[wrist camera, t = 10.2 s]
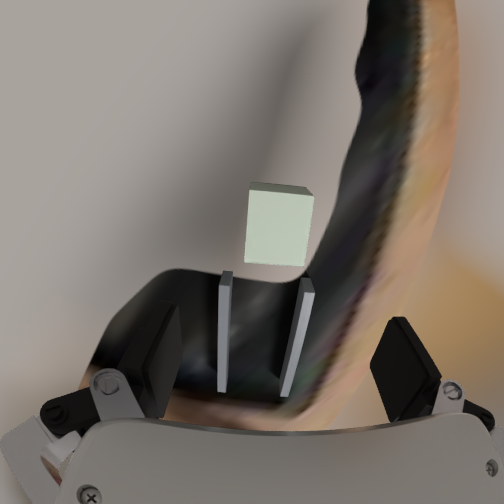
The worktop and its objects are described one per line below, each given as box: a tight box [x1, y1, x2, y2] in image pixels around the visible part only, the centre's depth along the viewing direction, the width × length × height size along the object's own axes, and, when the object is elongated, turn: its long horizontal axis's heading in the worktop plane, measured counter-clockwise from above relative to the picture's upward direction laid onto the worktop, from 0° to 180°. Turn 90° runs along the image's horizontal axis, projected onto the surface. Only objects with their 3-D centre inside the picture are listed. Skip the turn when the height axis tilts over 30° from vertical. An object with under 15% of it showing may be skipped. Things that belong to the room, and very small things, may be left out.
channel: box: [218, 271, 315, 397], centre depth 29 cm, size 16×9×3 cm, turn 175°
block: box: [244, 182, 314, 267], centre depth 24 cm, size 6×5×4 cm
